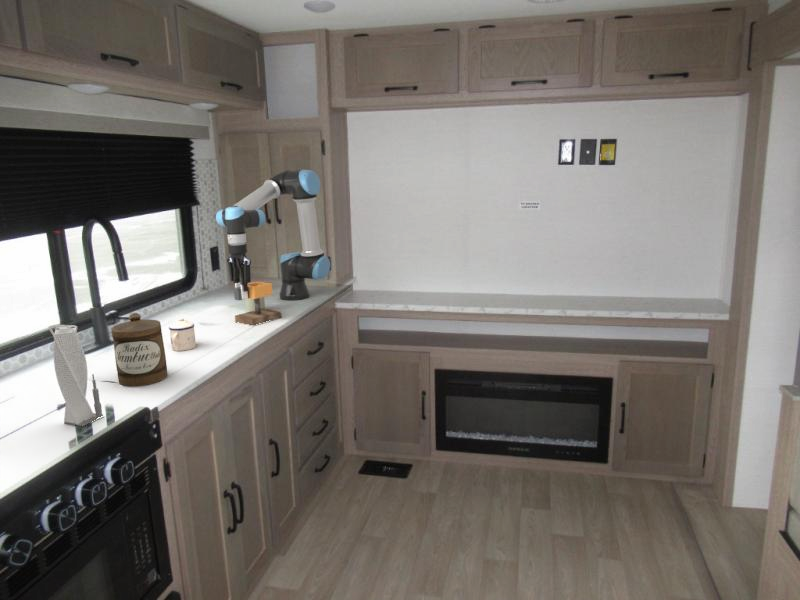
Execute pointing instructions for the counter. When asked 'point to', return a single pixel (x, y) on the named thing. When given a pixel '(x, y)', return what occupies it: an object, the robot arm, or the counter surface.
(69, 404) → the skyscraper
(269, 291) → the orange gray open box
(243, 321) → the keeper base
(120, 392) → the counter surface
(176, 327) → the teacup with lid
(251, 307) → the pale green upright block
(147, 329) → the wooden container
